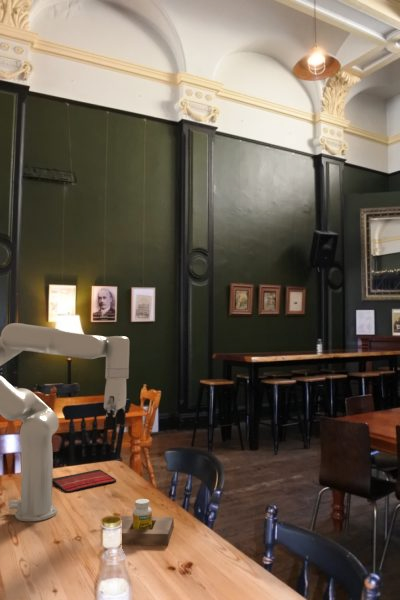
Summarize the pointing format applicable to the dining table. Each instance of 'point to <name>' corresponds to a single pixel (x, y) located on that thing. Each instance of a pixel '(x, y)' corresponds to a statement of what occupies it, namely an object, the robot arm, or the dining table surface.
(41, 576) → the dining table surface
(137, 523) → the supplement bottle
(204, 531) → the dining table surface
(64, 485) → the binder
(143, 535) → the socket block
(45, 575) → the dining table surface
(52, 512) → the robot arm
